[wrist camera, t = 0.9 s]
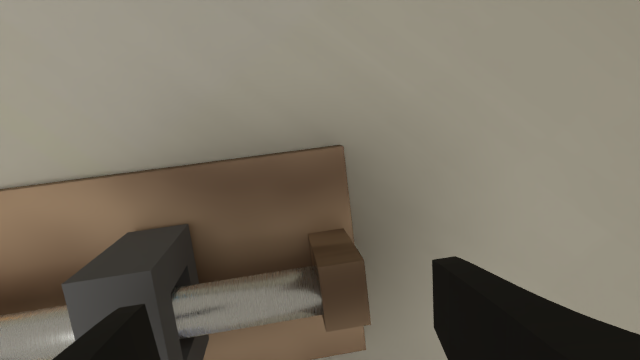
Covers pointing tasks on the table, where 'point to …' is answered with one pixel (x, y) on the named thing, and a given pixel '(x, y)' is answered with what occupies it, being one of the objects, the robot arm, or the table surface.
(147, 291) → the collar
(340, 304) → the pipe stand
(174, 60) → the table surface
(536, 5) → the table surface
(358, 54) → the table surface
